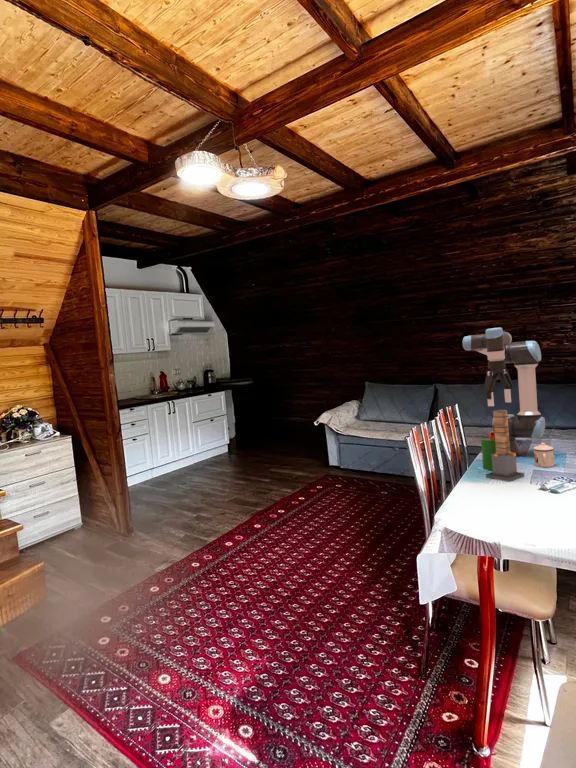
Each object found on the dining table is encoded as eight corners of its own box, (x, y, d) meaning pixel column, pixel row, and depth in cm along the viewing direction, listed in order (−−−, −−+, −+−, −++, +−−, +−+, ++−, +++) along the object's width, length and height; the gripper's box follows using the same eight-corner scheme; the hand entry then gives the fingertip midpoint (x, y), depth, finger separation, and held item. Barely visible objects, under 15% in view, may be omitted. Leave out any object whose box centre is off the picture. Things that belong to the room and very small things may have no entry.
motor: (501, 466, 231) (498, 428, 230) (507, 470, 222) (504, 431, 221) (481, 467, 232) (478, 430, 231) (487, 471, 223) (484, 432, 222)
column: (502, 455, 214) (498, 409, 213) (510, 457, 210) (507, 410, 209) (496, 457, 211) (492, 411, 210) (505, 458, 207) (501, 411, 206)
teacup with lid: (534, 463, 230) (532, 441, 230) (554, 463, 226) (552, 441, 226) (534, 468, 220) (533, 445, 219) (555, 469, 215) (554, 445, 215)
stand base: (501, 472, 219) (499, 448, 219) (524, 476, 209) (522, 451, 208) (486, 477, 213) (484, 452, 212) (509, 481, 203) (507, 455, 202)
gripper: (504, 358, 218) (507, 400, 219) (472, 362, 206) (476, 407, 207) (519, 357, 212) (522, 401, 213) (487, 361, 199) (490, 407, 200)
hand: (499, 404), depth 210 cm, fingers open, 13 cm apart
